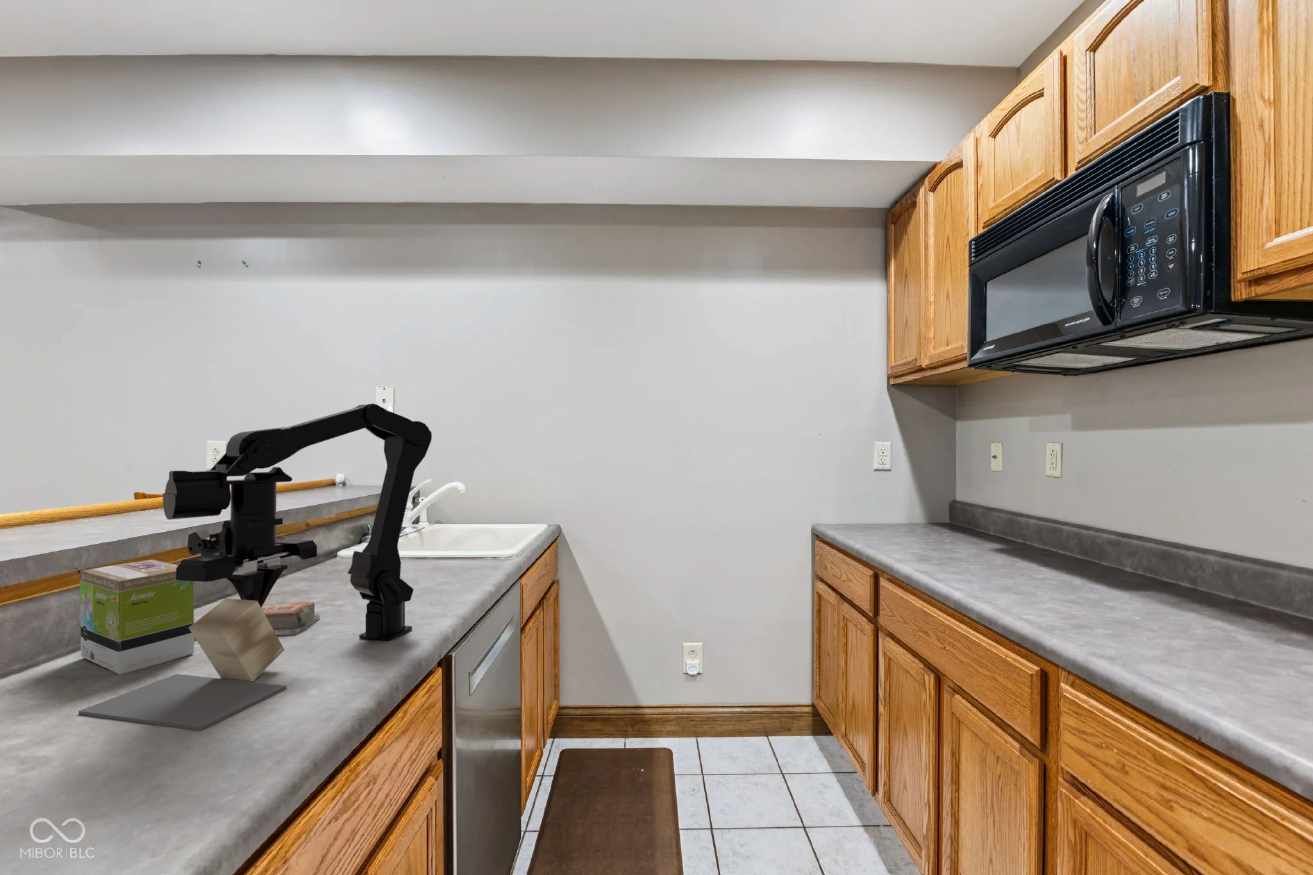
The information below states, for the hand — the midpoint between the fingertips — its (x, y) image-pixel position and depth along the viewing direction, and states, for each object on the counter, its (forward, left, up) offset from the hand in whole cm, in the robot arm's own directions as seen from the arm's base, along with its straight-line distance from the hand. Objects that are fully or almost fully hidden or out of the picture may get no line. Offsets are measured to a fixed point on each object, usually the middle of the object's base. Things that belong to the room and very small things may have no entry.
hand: (253, 615), depth 86 cm
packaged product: (-17, -18, -9) cm, 27 cm away
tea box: (-1, -25, -9) cm, 27 cm away
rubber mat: (+10, 0, -9) cm, 13 cm away
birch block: (0, 0, -7) cm, 7 cm away
